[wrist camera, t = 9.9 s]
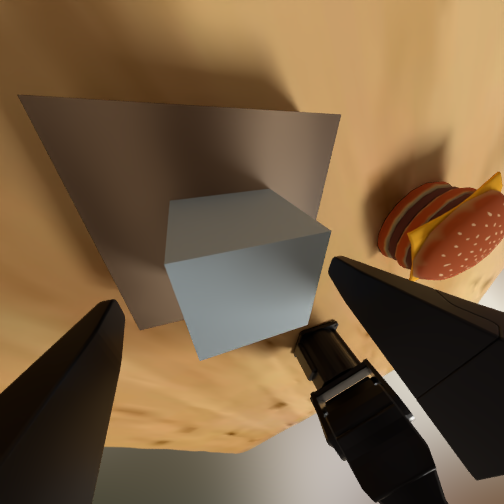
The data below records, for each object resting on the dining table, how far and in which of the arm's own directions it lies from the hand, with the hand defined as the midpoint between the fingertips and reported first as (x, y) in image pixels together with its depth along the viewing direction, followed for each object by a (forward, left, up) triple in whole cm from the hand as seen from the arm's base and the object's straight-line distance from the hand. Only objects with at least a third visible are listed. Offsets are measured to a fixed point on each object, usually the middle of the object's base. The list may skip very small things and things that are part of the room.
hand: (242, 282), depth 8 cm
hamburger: (-22, +3, -8) cm, 23 cm away
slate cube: (0, 0, -4) cm, 4 cm away
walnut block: (0, 0, -8) cm, 8 cm away
